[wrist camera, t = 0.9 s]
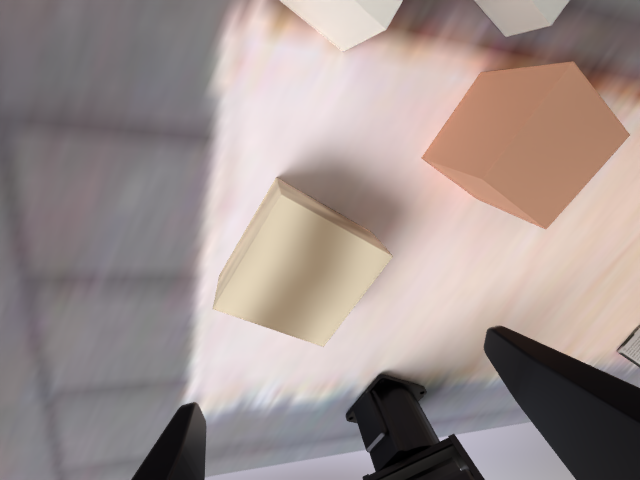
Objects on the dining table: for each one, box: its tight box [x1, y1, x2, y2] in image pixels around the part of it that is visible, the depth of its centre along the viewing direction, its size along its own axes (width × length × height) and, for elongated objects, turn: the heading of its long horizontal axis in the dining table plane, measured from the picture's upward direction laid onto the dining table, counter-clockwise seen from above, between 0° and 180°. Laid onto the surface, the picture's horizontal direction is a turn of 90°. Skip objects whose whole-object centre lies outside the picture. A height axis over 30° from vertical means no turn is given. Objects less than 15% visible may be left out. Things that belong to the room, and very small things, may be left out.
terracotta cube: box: [422, 62, 630, 229], centre depth 17 cm, size 6×6×6 cm
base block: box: [213, 178, 393, 347], centre depth 19 cm, size 8×8×4 cm
